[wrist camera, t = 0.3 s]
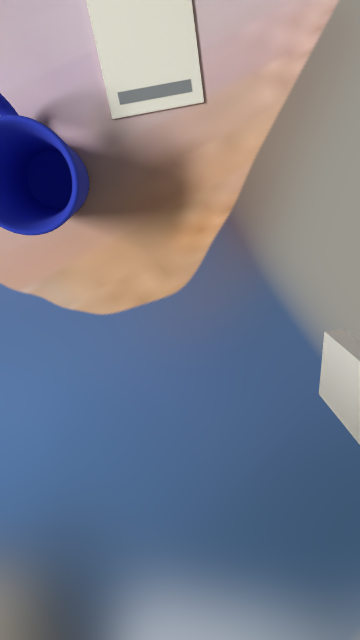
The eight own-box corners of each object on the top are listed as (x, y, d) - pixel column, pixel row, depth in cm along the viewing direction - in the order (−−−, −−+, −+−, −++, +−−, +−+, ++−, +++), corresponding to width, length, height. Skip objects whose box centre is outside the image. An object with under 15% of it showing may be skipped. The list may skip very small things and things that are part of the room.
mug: (42, 74, 30) (-6, 25, 21) (112, 198, 35) (100, 203, 25) (-32, 120, 31) (-108, 93, 22) (47, 236, 35) (11, 254, 26)
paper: (69, -80, 26) (68, -83, 26) (178, -99, 26) (179, -103, 26) (112, 119, 32) (112, 118, 31) (203, 102, 32) (204, 101, 32)
